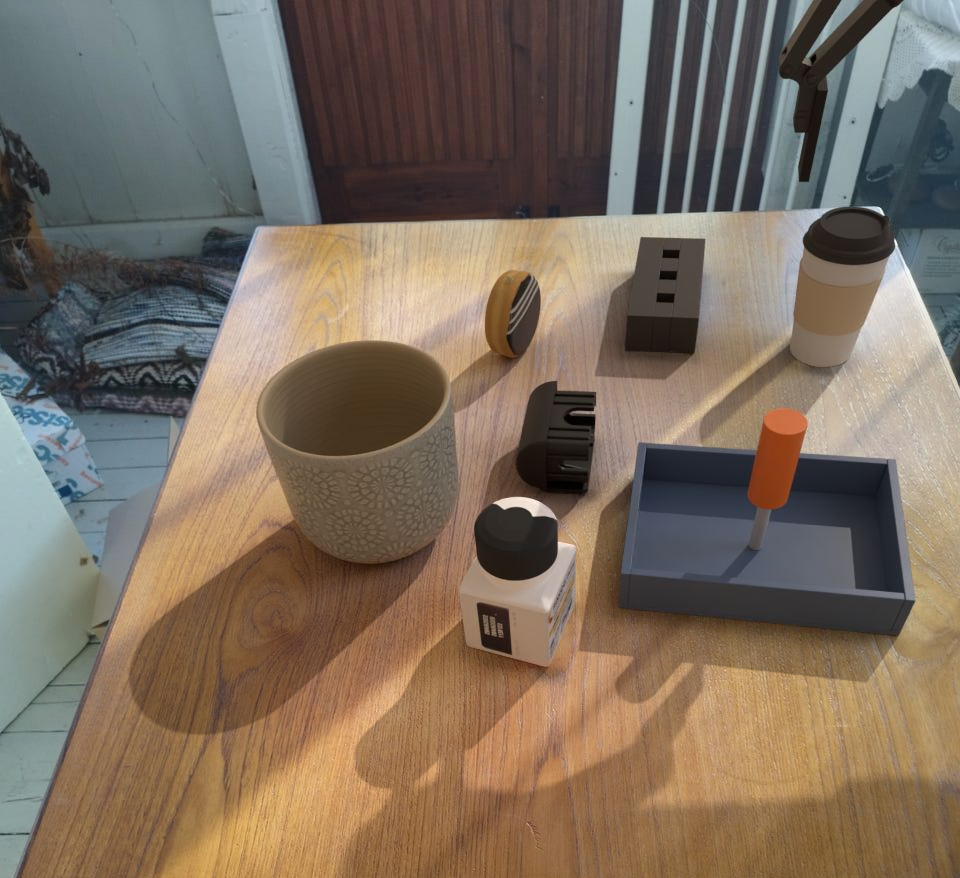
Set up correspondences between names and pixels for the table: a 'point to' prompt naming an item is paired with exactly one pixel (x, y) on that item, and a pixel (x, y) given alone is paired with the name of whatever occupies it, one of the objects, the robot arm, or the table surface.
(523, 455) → the end cap
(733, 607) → the bin
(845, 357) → the coffee cup
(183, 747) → the table surface
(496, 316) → the doughnut
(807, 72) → the robot arm
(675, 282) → the holder
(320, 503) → the planter
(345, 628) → the table surface
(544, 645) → the container
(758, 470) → the screwdriver
